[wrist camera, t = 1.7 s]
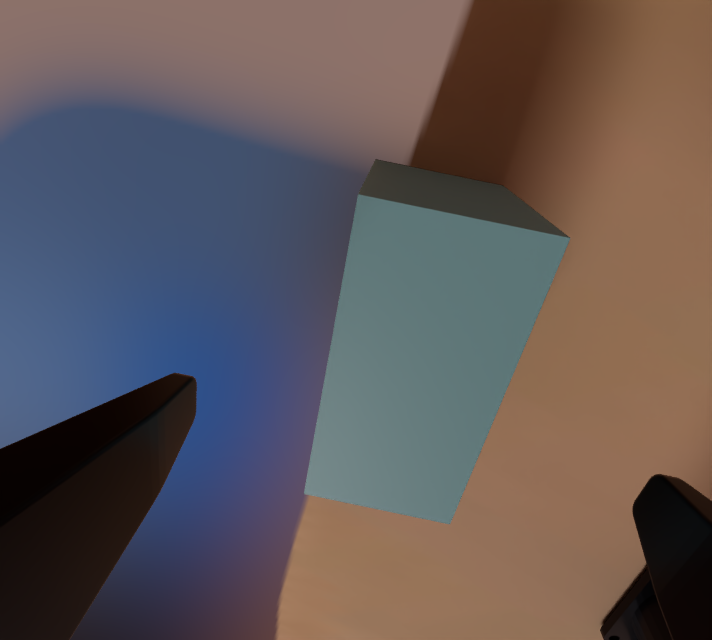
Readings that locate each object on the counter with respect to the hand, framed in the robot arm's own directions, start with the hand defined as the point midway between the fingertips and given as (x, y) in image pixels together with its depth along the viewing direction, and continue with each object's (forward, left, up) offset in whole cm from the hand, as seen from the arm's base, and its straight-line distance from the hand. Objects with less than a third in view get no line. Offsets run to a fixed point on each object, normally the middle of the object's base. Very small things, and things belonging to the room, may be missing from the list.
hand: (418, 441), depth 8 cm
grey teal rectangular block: (0, 0, -8) cm, 8 cm away
